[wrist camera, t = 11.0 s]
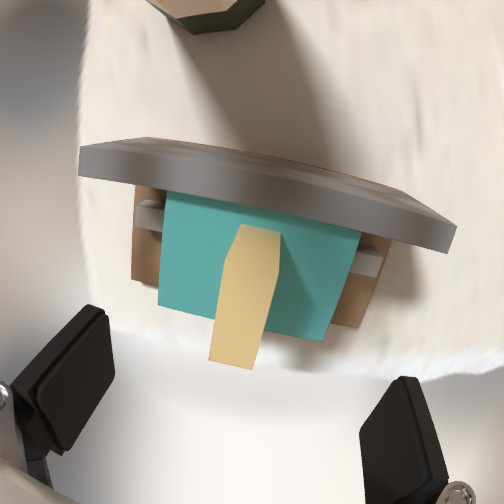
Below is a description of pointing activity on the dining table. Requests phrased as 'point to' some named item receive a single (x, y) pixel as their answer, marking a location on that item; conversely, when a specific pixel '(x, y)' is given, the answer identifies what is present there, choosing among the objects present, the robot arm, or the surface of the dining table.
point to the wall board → (265, 203)
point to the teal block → (251, 272)
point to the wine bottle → (207, 13)
